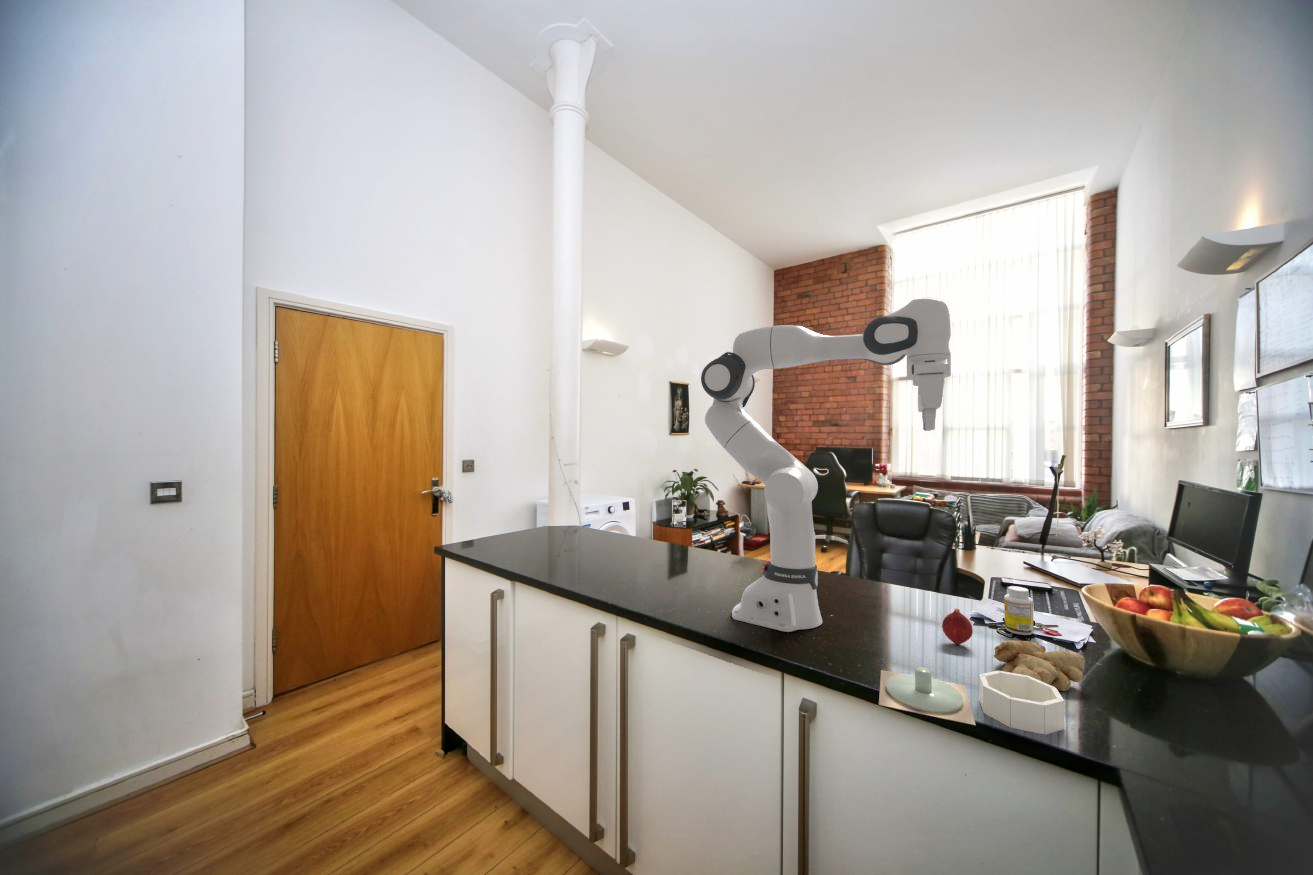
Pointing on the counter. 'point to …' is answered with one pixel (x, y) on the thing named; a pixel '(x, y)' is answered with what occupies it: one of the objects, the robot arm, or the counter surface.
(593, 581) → the counter surface
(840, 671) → the counter surface
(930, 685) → the lid
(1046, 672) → the ginger root
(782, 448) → the robot arm
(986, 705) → the bowl
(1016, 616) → the supplement bottle
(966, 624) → the onion
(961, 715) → the mat
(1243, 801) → the counter surface
